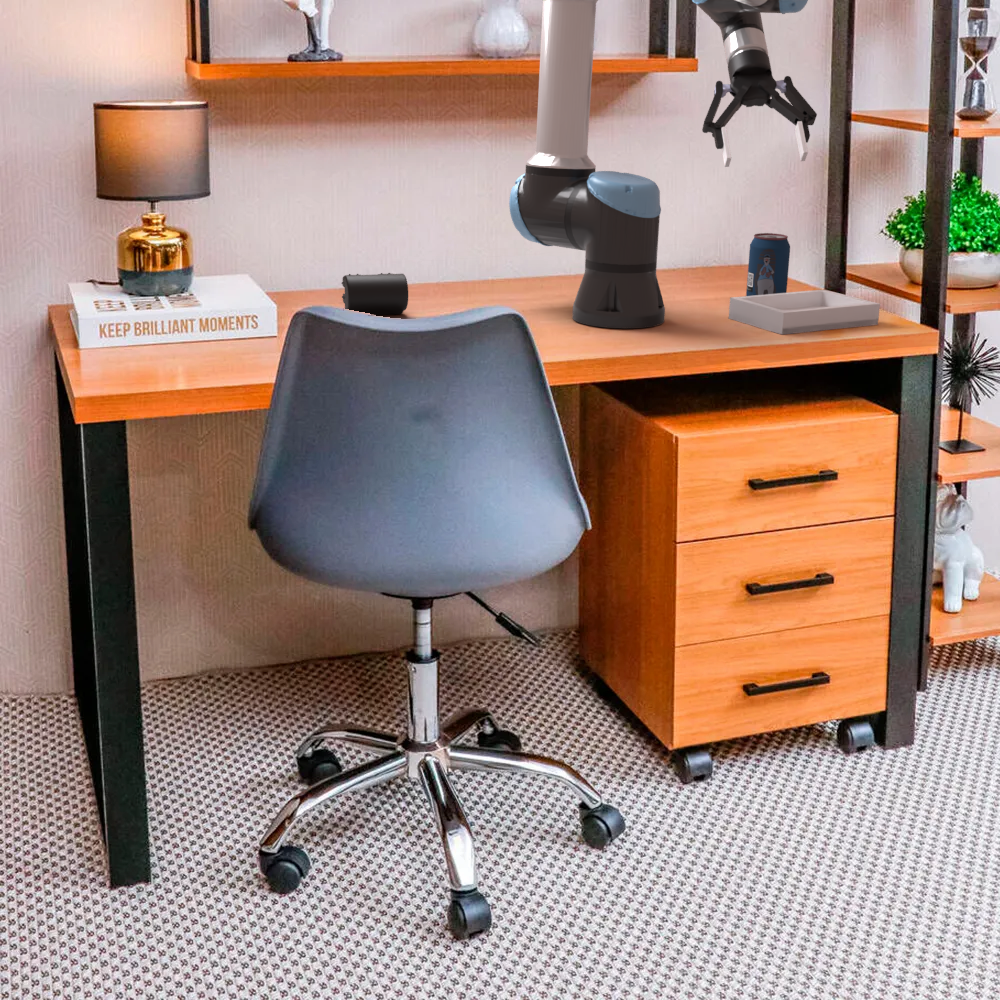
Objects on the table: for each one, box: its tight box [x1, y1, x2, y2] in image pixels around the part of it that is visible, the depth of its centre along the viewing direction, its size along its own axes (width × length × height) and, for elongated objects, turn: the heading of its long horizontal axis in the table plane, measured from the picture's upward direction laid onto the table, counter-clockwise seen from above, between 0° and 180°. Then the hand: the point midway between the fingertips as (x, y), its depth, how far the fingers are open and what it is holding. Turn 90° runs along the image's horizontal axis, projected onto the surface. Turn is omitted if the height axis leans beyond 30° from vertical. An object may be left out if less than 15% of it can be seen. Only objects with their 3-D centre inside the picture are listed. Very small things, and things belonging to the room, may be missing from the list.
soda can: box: [745, 232, 791, 296], centre depth 250 cm, size 7×7×12 cm
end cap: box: [341, 272, 409, 316], centre depth 236 cm, size 10×7×7 cm
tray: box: [728, 289, 881, 335], centre depth 237 cm, size 20×14×4 cm
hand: (766, 159), depth 252 cm, fingers open, 13 cm apart
